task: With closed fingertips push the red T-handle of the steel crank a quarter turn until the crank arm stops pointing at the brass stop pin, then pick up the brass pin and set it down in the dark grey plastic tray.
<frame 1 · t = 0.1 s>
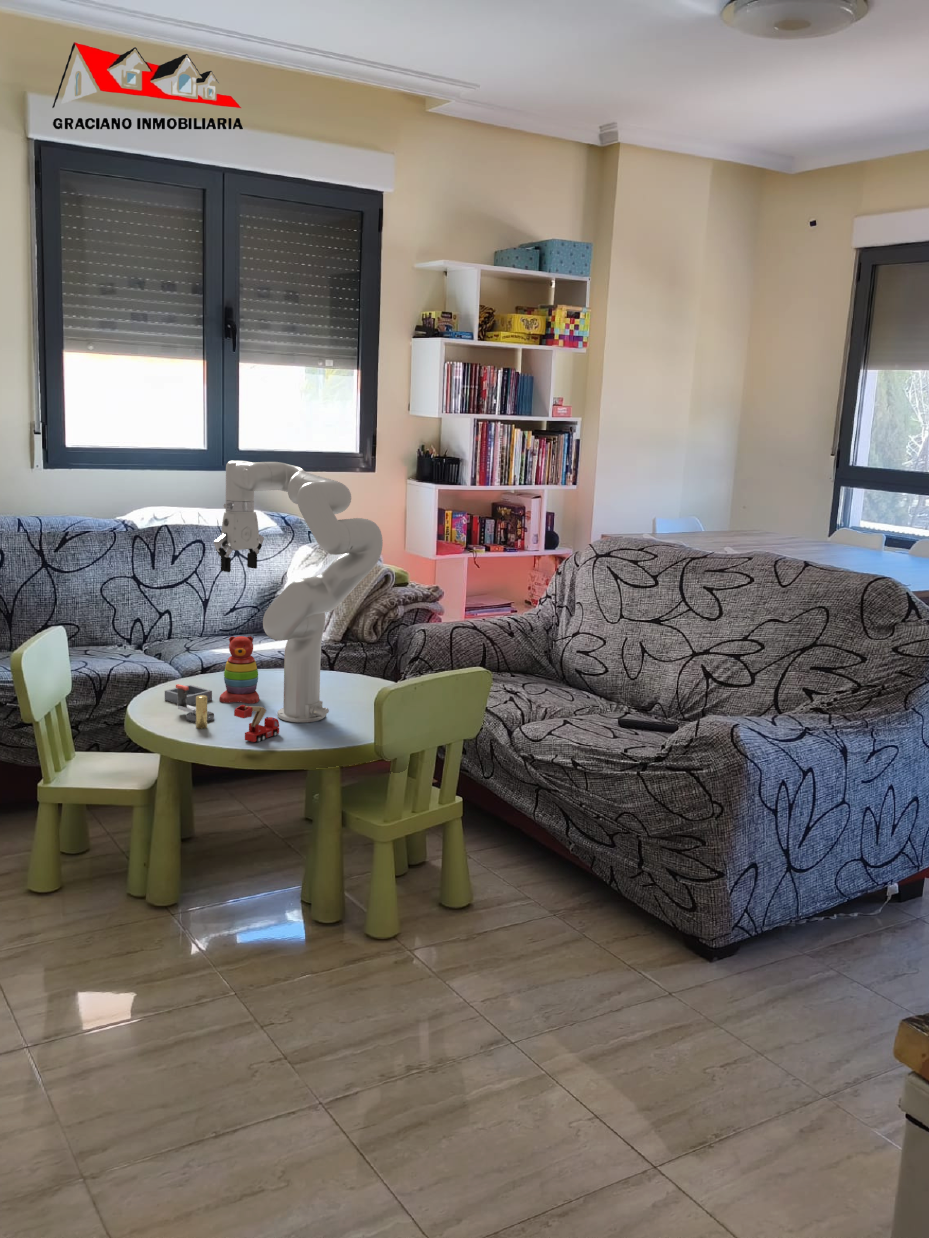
hand: (239, 569, 297), 37 cm above the table, tool pointing down, fingers open, 9 cm apart
hub: (200, 718, 284), on the table
toy fire truck: (257, 740, 270), on the table
crank: (190, 699, 286), point 5 cm above the table, hinge at 0.0°
tray: (188, 699, 301), on the table
stacking bear: (240, 699, 305), on the table
stop pin: (201, 727, 278), on the table
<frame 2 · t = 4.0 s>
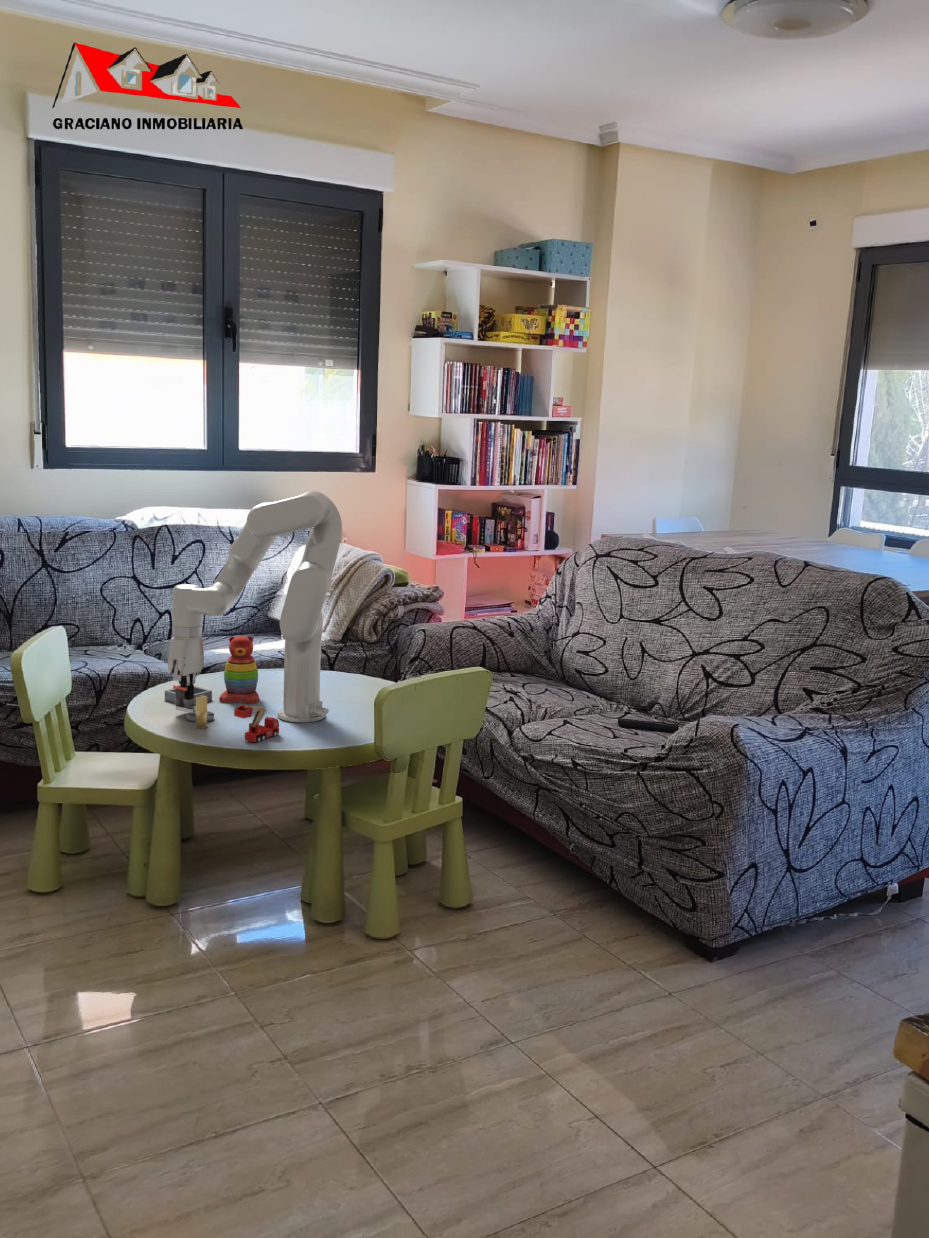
hand: (187, 698, 290), 3 cm above the table, tool pointing down, fingers closed
crank: (189, 700, 285), point 5 cm above the table, hinge at 6.2°, touching gripper
everything else where it was.
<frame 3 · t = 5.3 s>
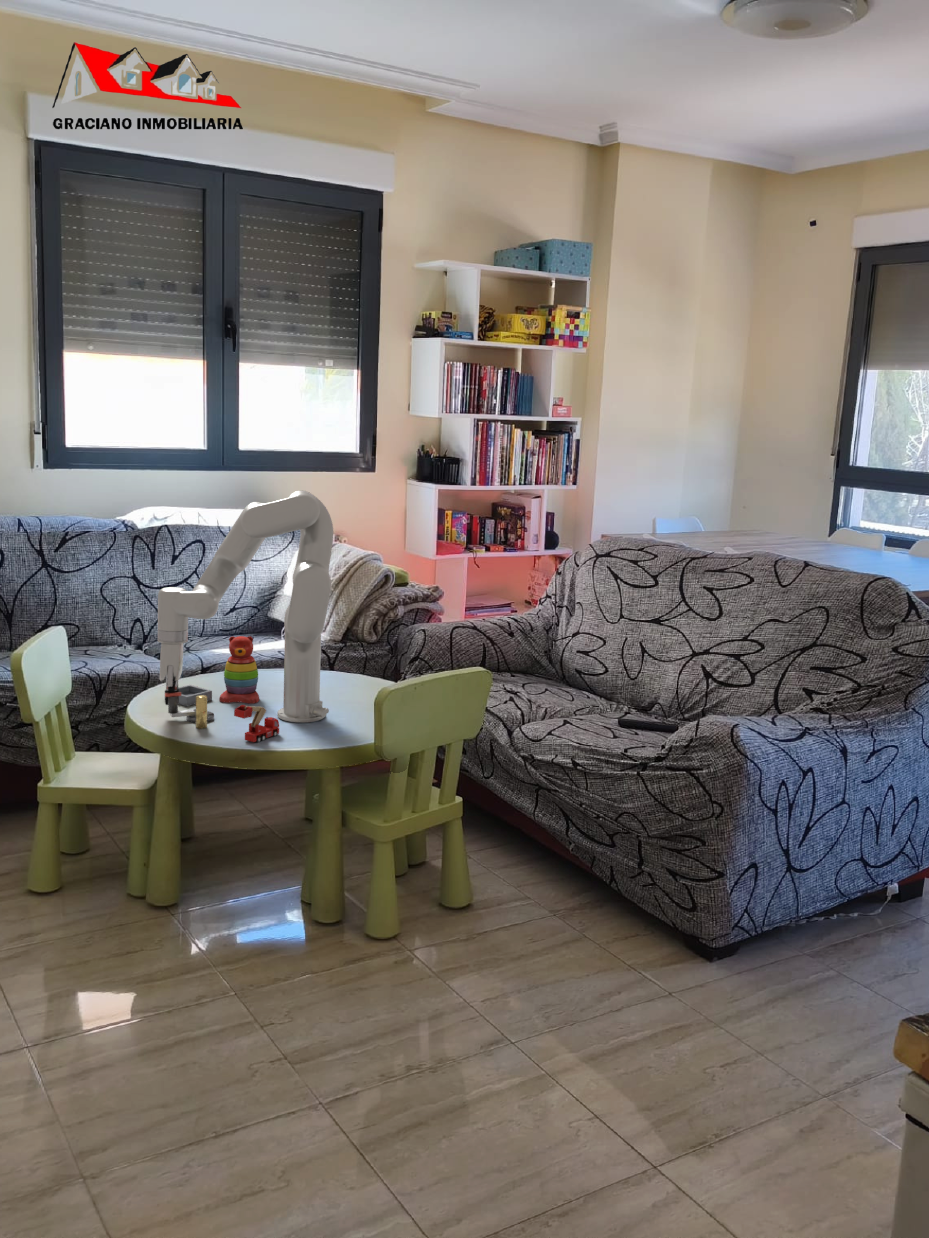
hand: (172, 704, 284), 4 cm above the table, tool pointing down, fingers closed
crank: (186, 703, 282), point 5 cm above the table, hinge at 61.2°, touching gripper
everything else where it was.
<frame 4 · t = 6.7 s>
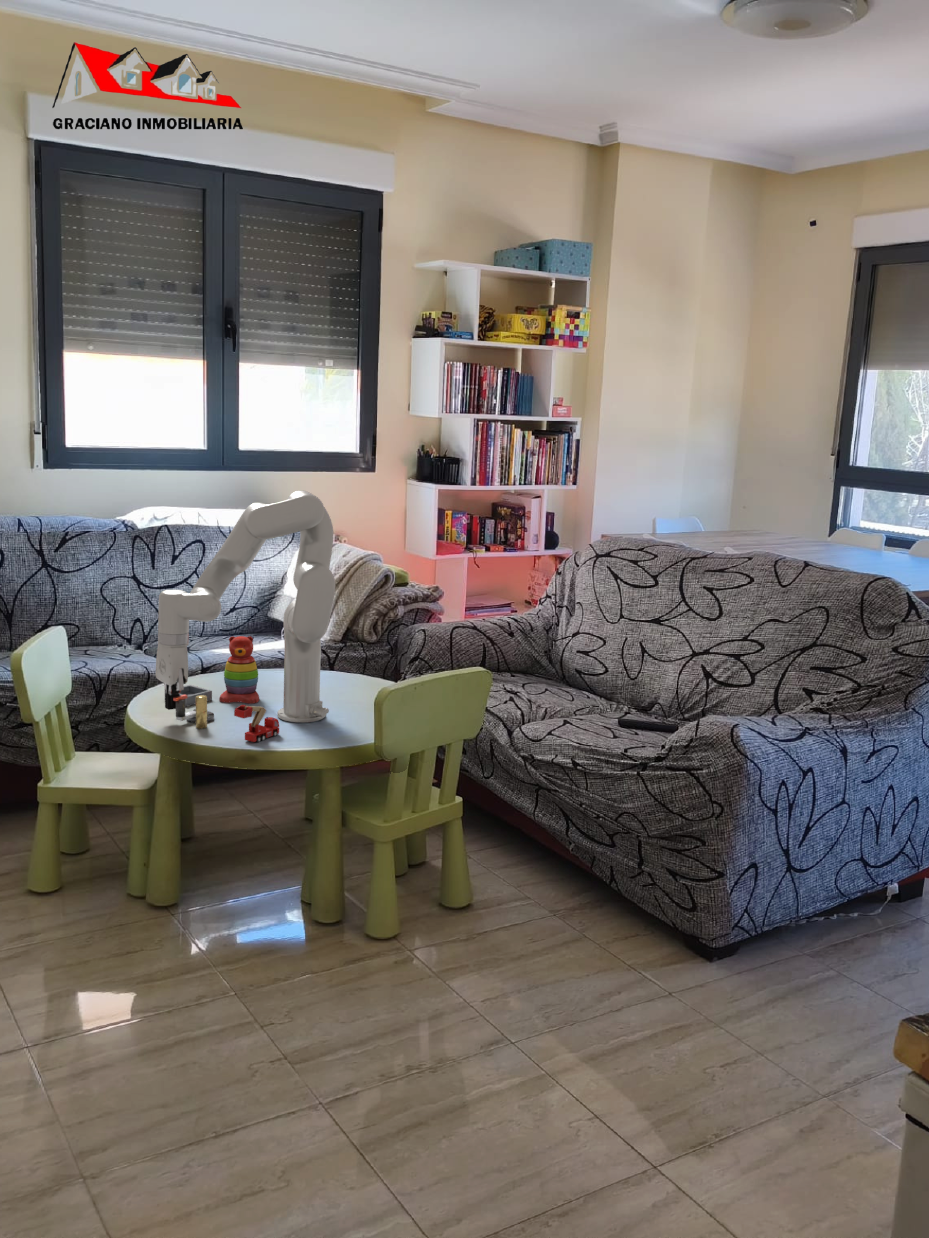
hand: (172, 708, 280), 4 cm above the table, tool pointing down, fingers closed
crank: (190, 705, 281), point 5 cm above the table, hinge at 93.6°, touching gripper
everything else where it was.
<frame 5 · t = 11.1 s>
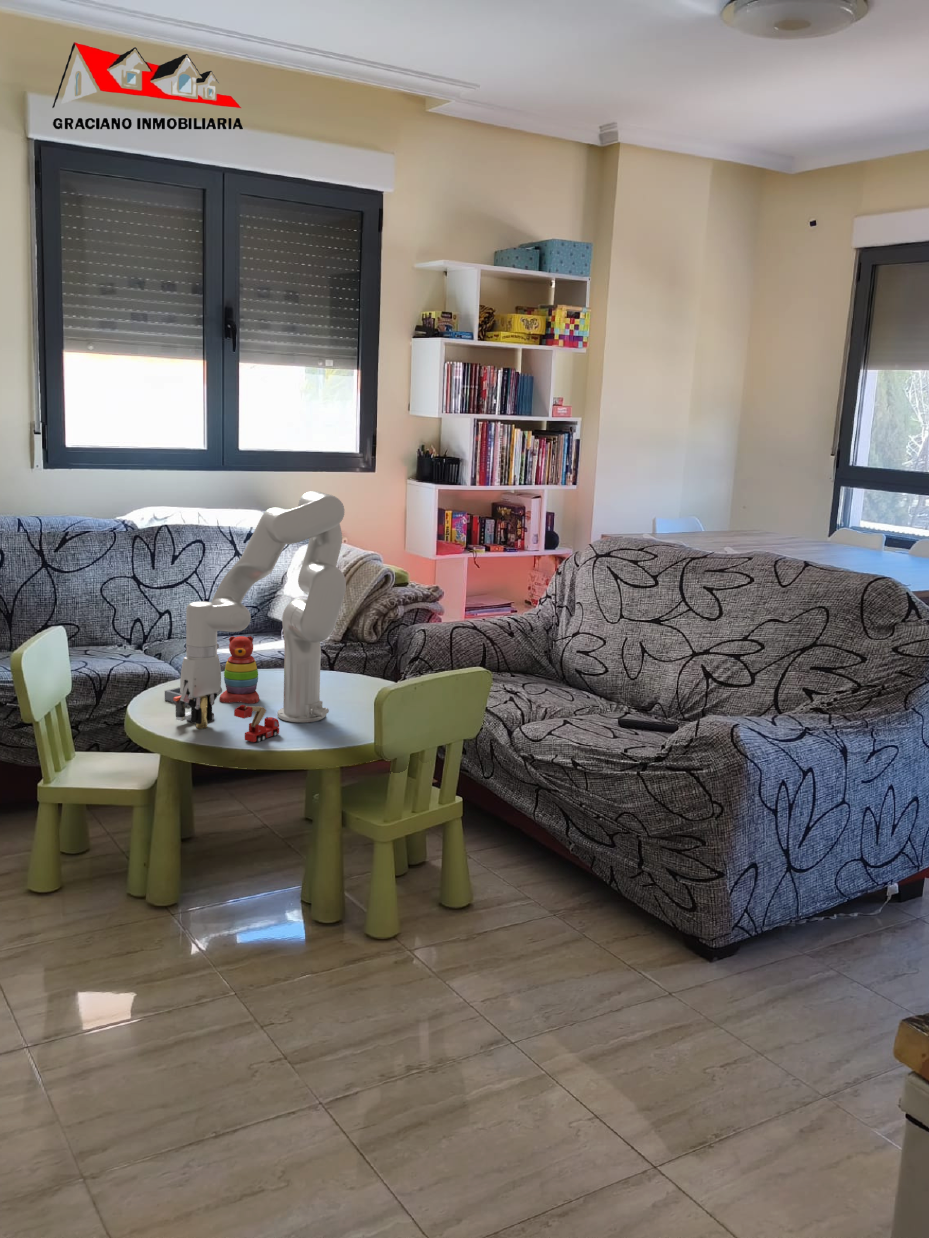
hand: (201, 720, 277), 2 cm above the table, tool pointing down, fingers closed on stop pin, 2 cm apart
crank: (190, 705, 281), point 5 cm above the table, hinge at 93.5°
stop pin: (201, 726, 278), on the table, touching gripper
everything else where it was.
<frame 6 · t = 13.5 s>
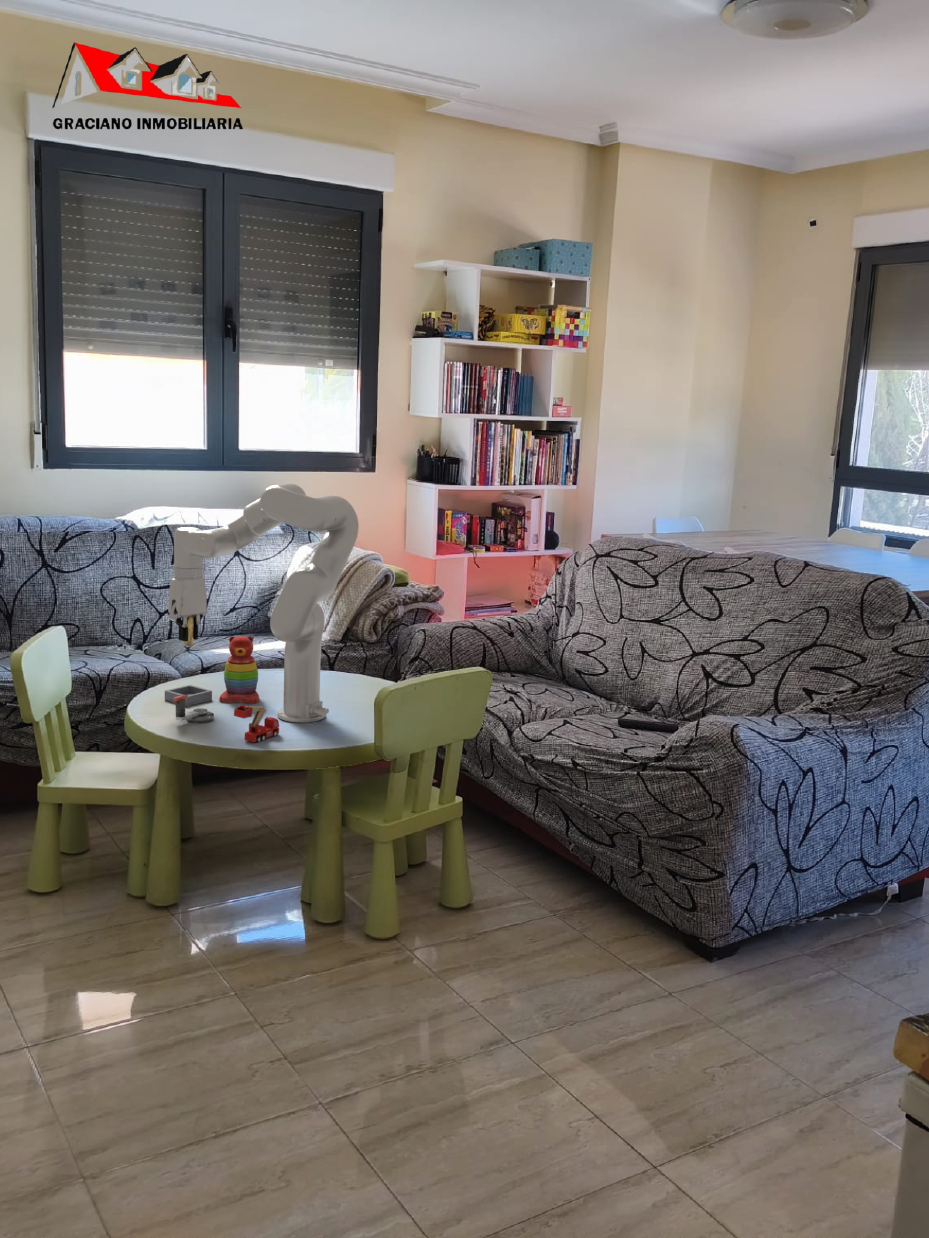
hand: (188, 639, 298), 17 cm above the table, tool pointing down, fingers closed on stop pin, 2 cm apart
stop pin: (188, 645, 298), point 16 cm above the table, touching gripper
everything else where it was.
when the fingers open (3 cm above the table, at t = 16.4 s): stop pin stays where it is, resting on tray.
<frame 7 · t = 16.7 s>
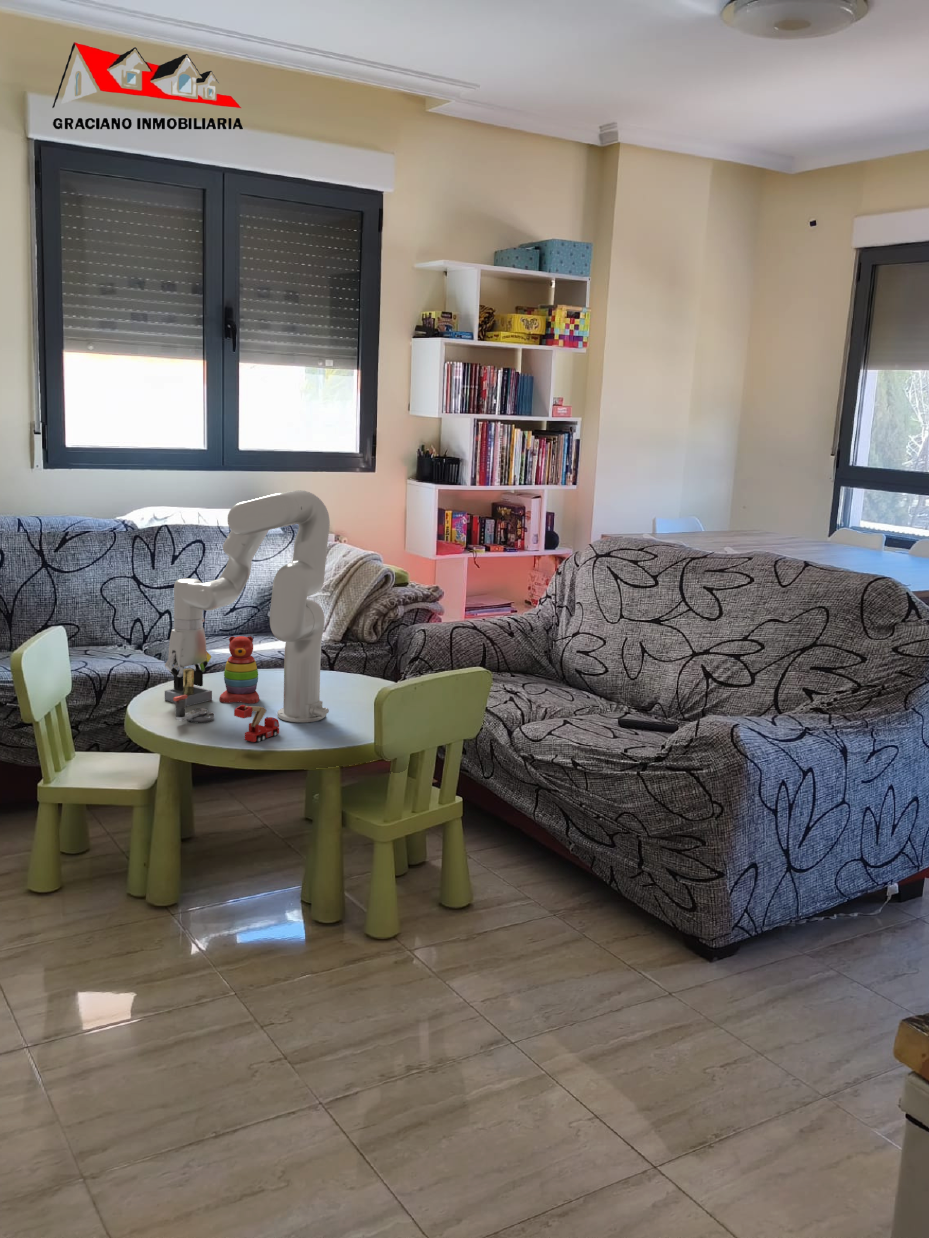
hand: (188, 687, 301), 4 cm above the table, tool pointing down, fingers open, 6 cm apart
stop pin: (188, 697, 301), point 1 cm above the table, touching tray
everything else where it was.
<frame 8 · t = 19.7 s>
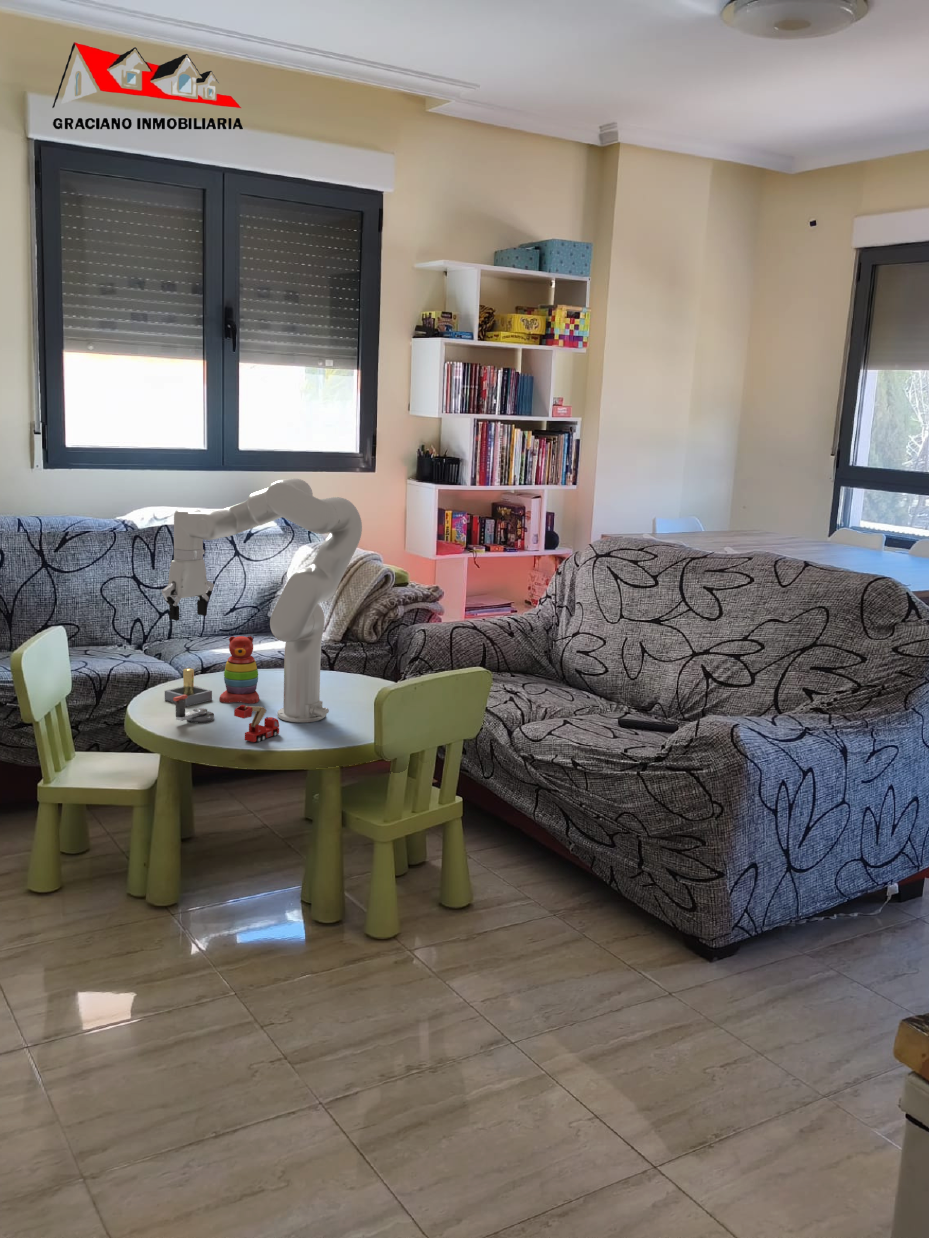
hand: (188, 617, 297), 23 cm above the table, tool pointing down, fingers open, 9 cm apart
nothing on the table moved.
at the end: crank at +94° (first picture: +0°); stop pin inside the target area on the tray (0.1 cm from its centre), point 0.6 cm above the tray's base; the gripper is holding nothing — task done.
